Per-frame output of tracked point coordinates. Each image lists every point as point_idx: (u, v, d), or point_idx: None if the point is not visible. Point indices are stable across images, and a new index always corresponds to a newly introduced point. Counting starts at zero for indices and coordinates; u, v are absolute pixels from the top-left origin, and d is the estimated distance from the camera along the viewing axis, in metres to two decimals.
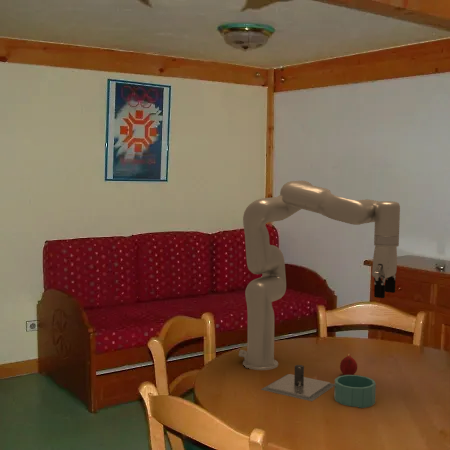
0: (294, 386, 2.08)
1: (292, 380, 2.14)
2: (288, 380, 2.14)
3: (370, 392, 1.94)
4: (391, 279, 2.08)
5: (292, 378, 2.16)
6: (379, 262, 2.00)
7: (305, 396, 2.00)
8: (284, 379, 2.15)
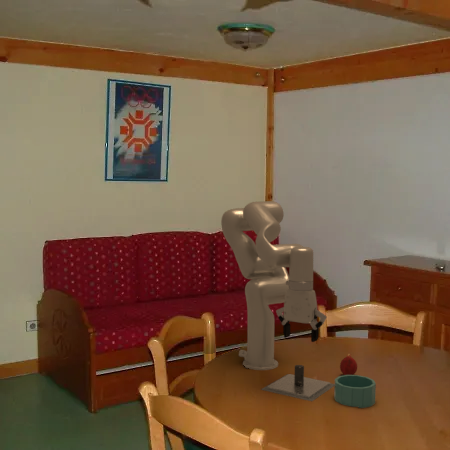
0: (294, 386, 2.08)
1: (292, 380, 2.14)
2: (288, 380, 2.14)
3: (370, 392, 1.94)
4: (288, 323, 2.11)
5: (292, 378, 2.16)
6: (314, 307, 2.04)
7: (305, 396, 2.00)
8: (284, 379, 2.15)
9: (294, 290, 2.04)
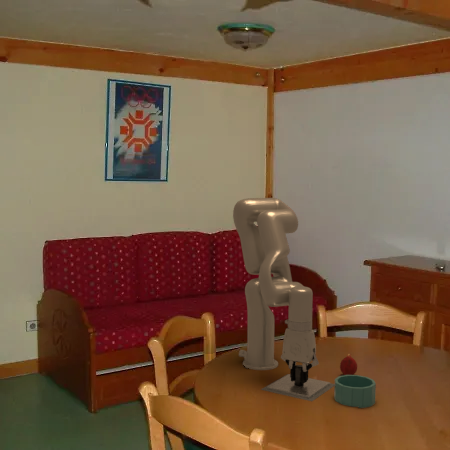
0: (294, 386, 2.08)
1: None
2: (288, 380, 2.14)
3: (370, 392, 1.94)
4: None
5: None
6: (313, 347, 2.06)
7: (305, 396, 2.00)
8: (284, 379, 2.15)
9: (293, 330, 2.05)
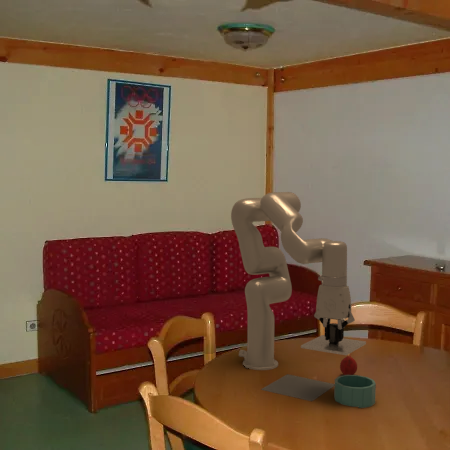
0: (329, 345, 2.00)
1: (326, 340, 2.06)
2: (322, 340, 2.05)
3: (370, 392, 1.94)
4: None
5: None
6: (349, 303, 1.98)
7: (341, 352, 1.92)
8: (317, 339, 2.07)
9: (327, 286, 1.97)
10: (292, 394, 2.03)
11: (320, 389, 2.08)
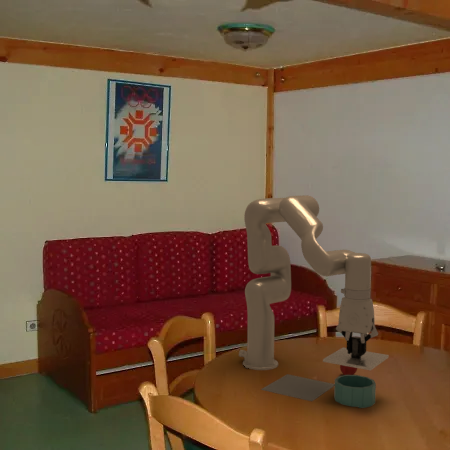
0: (351, 358, 1.96)
1: None
2: (343, 353, 2.02)
3: (370, 392, 1.94)
4: None
5: (347, 351, 2.04)
6: (372, 317, 1.94)
7: (366, 367, 1.89)
8: (339, 352, 2.03)
9: (351, 299, 1.94)
10: (292, 394, 2.03)
11: (320, 389, 2.08)
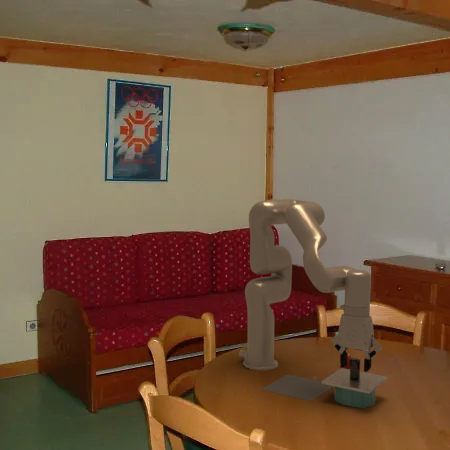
0: (350, 380, 1.97)
1: (346, 374, 2.03)
2: (342, 374, 2.03)
3: None
4: (345, 352, 2.01)
5: (346, 372, 2.05)
6: (372, 334, 1.95)
7: (364, 390, 1.90)
8: (338, 373, 2.04)
9: (350, 316, 1.94)
10: (292, 394, 2.03)
11: (320, 389, 2.08)
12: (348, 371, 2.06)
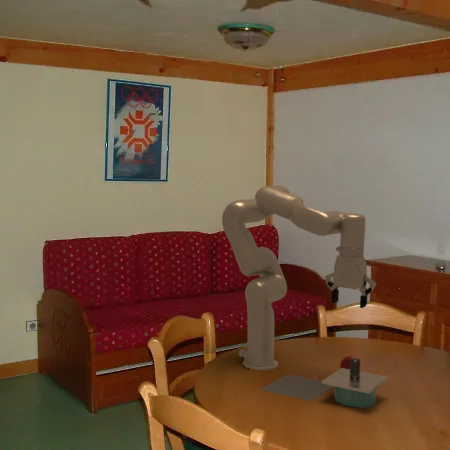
0: (350, 380, 1.97)
1: (346, 374, 2.03)
2: (342, 374, 2.03)
3: None
4: (336, 289, 2.13)
5: (346, 372, 2.05)
6: (364, 274, 2.06)
7: (364, 390, 1.90)
8: (338, 373, 2.04)
9: (345, 256, 2.05)
10: (292, 394, 2.03)
11: (320, 389, 2.08)
12: (348, 371, 2.06)
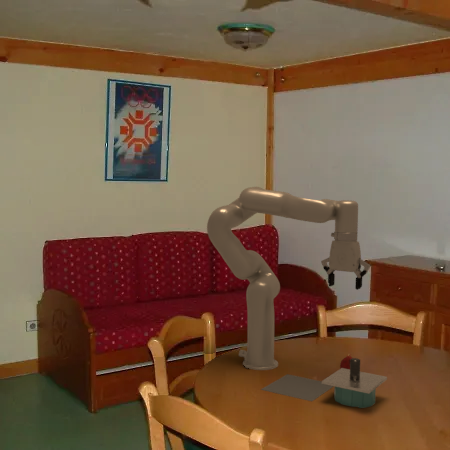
0: (350, 380, 1.97)
1: (346, 374, 2.03)
2: (342, 374, 2.03)
3: None
4: (332, 273, 2.24)
5: (346, 372, 2.05)
6: (359, 257, 2.17)
7: (364, 390, 1.90)
8: (338, 373, 2.04)
9: (340, 240, 2.17)
10: (292, 394, 2.03)
11: (320, 389, 2.08)
12: (348, 371, 2.06)
